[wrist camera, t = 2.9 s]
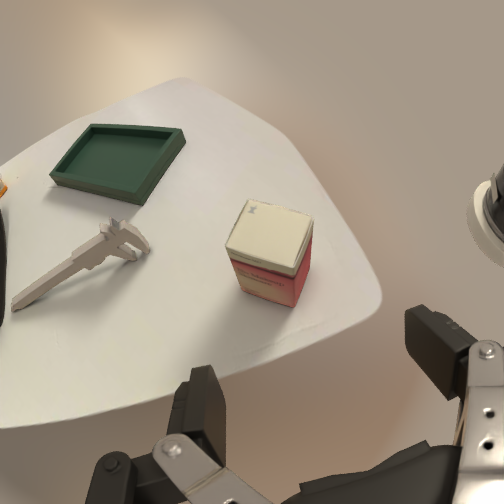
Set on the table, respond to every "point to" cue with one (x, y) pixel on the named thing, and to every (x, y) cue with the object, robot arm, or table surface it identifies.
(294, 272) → the small box
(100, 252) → the caliper
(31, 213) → the table surface
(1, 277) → the laptop stand
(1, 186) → the supplement box
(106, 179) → the tray
